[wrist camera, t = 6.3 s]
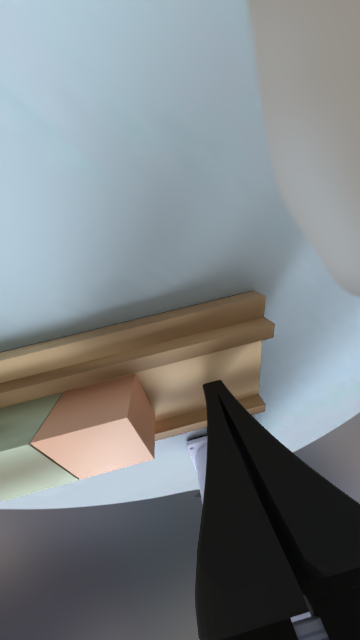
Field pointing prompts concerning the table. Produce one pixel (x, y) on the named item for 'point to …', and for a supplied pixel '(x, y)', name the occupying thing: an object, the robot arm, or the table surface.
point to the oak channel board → (124, 359)
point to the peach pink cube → (99, 428)
